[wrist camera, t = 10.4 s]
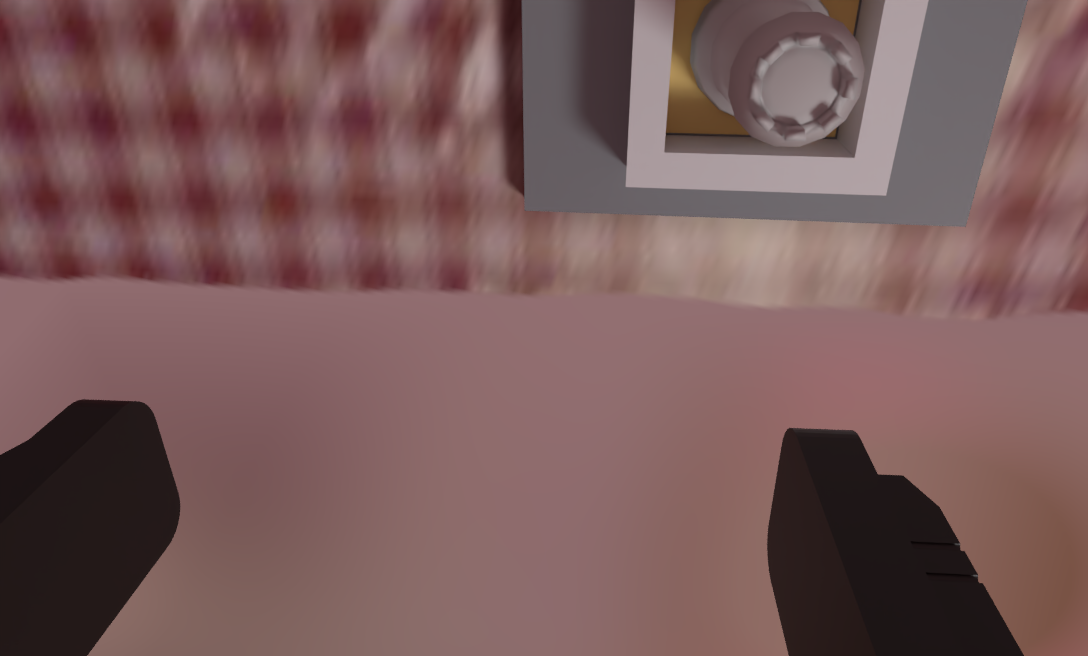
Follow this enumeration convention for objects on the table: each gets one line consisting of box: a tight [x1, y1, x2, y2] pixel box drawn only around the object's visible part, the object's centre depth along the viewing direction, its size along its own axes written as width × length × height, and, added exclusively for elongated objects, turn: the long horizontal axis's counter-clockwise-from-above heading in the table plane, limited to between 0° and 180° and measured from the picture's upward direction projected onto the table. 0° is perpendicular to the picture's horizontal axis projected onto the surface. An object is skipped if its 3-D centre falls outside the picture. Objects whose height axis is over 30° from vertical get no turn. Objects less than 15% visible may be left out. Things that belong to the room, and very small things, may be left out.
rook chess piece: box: [690, 0, 865, 147], centre depth 21 cm, size 4×4×8 cm
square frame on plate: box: [522, 0, 1028, 227], centre depth 24 cm, size 16×12×4 cm
